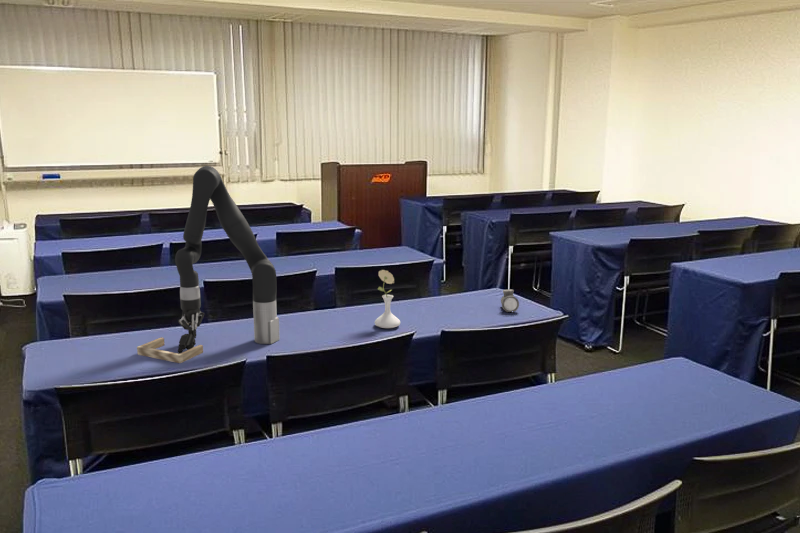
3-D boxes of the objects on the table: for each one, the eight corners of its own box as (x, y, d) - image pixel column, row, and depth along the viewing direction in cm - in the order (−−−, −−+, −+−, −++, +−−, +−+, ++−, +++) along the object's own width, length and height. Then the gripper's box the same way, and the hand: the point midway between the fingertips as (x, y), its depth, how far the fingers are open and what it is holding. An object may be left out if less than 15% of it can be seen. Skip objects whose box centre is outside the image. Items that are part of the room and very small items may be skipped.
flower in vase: (405, 327, 281) (406, 272, 275) (383, 332, 274) (384, 275, 269) (389, 319, 291) (389, 266, 286) (367, 324, 285) (367, 269, 279)
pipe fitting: (519, 312, 303) (518, 291, 302) (502, 313, 304) (501, 292, 302) (515, 308, 315) (514, 287, 314) (499, 309, 316) (498, 288, 314)
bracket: (203, 352, 248) (202, 345, 247) (180, 363, 237) (179, 355, 236) (161, 344, 256) (161, 337, 256) (137, 354, 245) (136, 347, 244)
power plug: (169, 356, 241) (179, 329, 250) (175, 367, 247) (185, 341, 255) (184, 357, 241) (194, 330, 249) (190, 368, 247) (199, 342, 255)
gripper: (185, 302, 246) (188, 344, 250) (209, 294, 258) (211, 335, 262) (170, 299, 249) (173, 341, 253) (194, 291, 261) (197, 332, 265)
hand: (192, 338), depth 258 cm, fingers closed
